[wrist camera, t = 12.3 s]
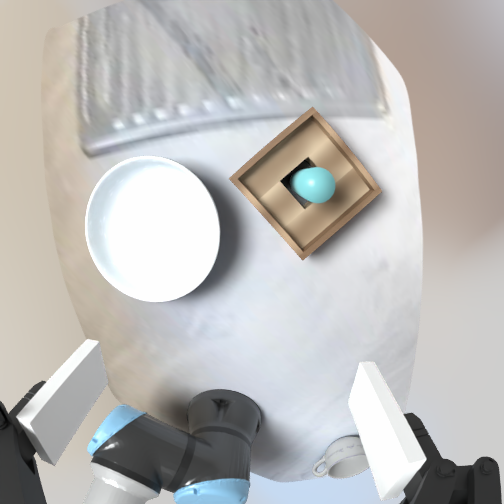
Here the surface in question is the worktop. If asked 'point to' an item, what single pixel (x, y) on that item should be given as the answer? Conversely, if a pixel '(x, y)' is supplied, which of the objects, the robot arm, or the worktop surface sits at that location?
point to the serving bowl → (152, 228)
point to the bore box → (317, 155)
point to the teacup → (343, 459)
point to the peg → (313, 184)
